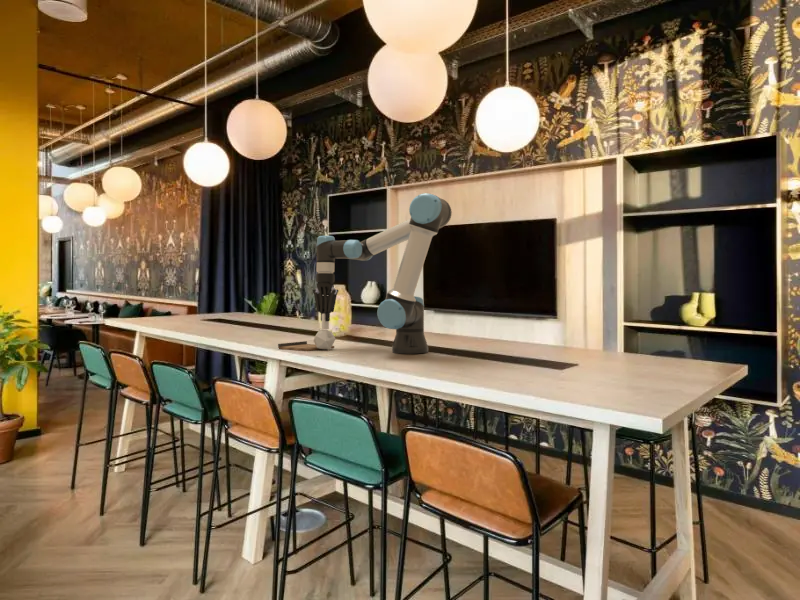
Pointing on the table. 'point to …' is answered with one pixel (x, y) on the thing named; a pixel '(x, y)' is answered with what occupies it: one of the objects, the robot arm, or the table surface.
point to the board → (299, 346)
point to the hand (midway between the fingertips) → (325, 329)
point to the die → (324, 339)
